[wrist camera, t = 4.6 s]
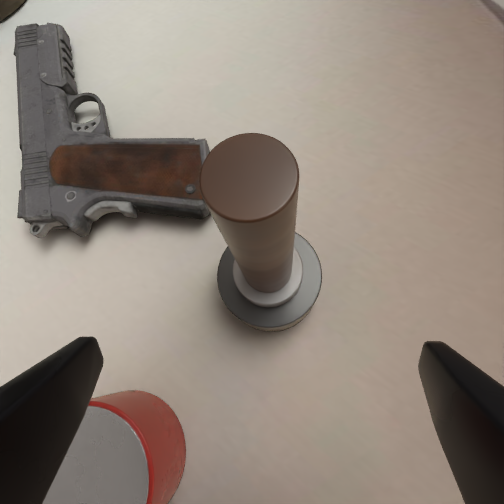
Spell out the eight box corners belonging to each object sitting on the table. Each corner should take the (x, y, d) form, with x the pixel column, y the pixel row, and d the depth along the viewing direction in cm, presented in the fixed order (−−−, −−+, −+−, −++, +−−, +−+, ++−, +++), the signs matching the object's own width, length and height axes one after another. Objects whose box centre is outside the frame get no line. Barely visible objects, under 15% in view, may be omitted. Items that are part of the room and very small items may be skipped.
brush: (328, 319, 21) (405, 258, 7) (235, 340, 21) (147, 316, 8) (303, 232, 23) (330, 58, 9) (218, 252, 23) (124, 109, 9)
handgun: (159, -23, 28) (1, 22, 28) (222, 199, 21) (8, 262, 21) (170, 9, 31) (24, 51, 31) (228, 217, 23) (38, 273, 23)
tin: (194, 511, 18) (162, 567, 14) (74, 536, 19) (-1, 600, 14) (177, 379, 21) (144, 386, 16) (69, 403, 21) (3, 418, 16)
